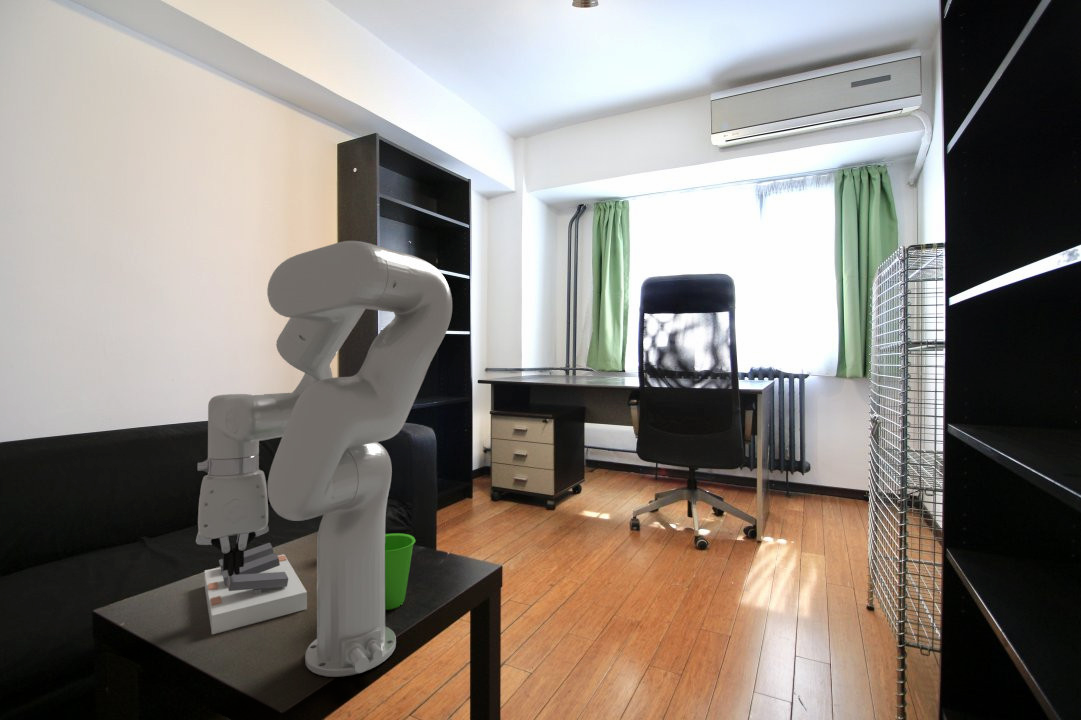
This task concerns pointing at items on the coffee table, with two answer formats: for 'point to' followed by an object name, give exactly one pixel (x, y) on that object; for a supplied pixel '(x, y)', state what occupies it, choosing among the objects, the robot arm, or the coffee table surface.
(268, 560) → the rocker middle
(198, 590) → the coffee table surface
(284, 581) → the rocker near
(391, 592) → the cup
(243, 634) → the coffee table surface
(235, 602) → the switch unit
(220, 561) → the block
